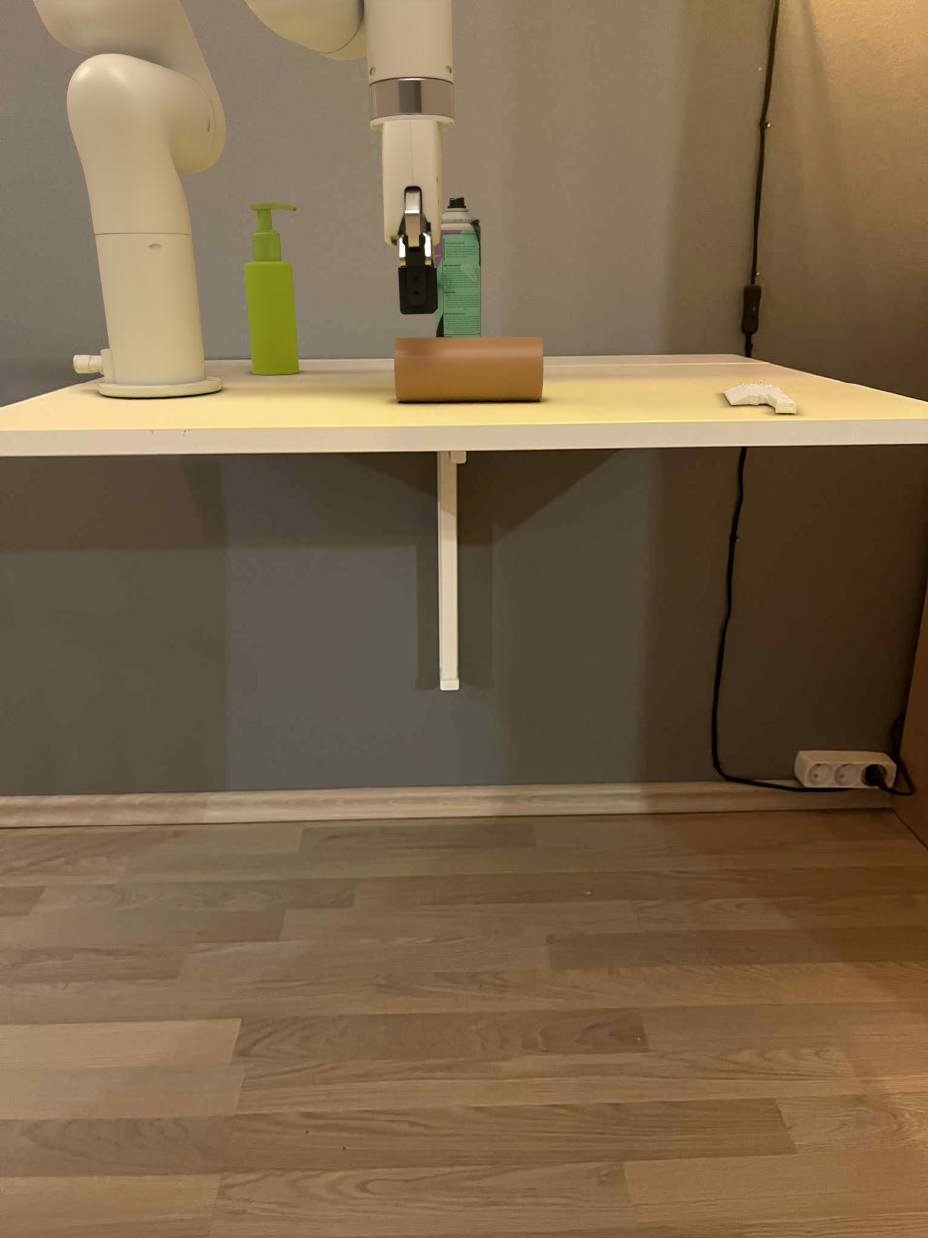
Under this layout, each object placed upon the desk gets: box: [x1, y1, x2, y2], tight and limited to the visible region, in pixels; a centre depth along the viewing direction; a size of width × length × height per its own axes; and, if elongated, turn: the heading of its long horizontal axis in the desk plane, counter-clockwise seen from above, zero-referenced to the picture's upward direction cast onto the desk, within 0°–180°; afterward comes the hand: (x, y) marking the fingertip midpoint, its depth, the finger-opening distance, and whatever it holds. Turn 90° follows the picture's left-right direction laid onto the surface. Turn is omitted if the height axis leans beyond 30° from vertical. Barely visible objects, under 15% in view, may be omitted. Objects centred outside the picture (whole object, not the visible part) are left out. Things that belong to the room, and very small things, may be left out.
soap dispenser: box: [243, 202, 300, 376], centre depth 119 cm, size 6×7×20 cm
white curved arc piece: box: [723, 382, 797, 414], centre depth 89 cm, size 5×15×1 cm, turn 169°
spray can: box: [433, 196, 482, 337], centre depth 112 cm, size 6×6×20 cm
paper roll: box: [393, 336, 544, 403], centre depth 92 cm, size 14×6×6 cm, turn 90°
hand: (420, 312), depth 90 cm, fingers open, 9 cm apart
